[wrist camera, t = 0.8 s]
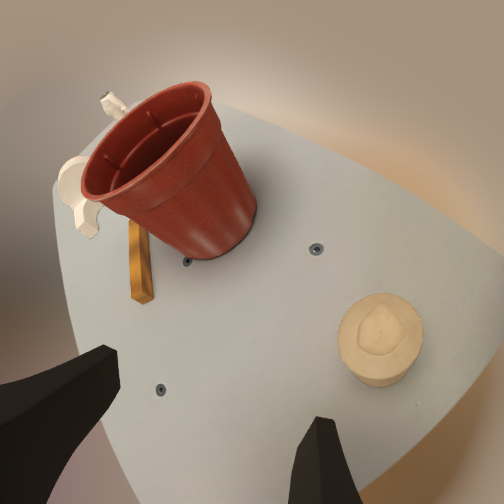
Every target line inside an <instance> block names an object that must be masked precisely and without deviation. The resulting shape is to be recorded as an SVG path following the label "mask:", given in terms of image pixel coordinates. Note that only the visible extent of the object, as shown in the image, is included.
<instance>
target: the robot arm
mask: <svg viewBox="0 0 504 504" xmlns="http://www.w3.org/2000/svg"><path fill="white" fill-rule="evenodd" d="M120 388H121V387H120V378H119V368H118V357H117V351H116V350H114V349H112V348H110V347H108V346H106V345H101V346H99V347H97V348H95V349H93V350H91V351H89V352H86V353H84V354H82V355H80V356H78V357H76V358H74V359H72V360H70V361H67V362H66V363H63V364H61V365H58V366H56V367H54V368H52V369H49V370H46V371H44V372H41V373H39V374H36V375H33V376H31V377H28V378H25V379H21V380H18V381H14V382H10V383H7V384H2V385H0V504H46V503H47V501H48V498H49V496H50V494H51V492H52V490H53V488H54V486H55V484H56V482H57V480H58V478H59V476H60V474H61V473H62V471H63V469H64V467H65V466H66V464H67V462H68V461H69V459H70V457H71V456H72V454H73V452H74V451H75V450H76V448H77V447H78V445H79V444H80V443H81V442H82V441H83V439H84V438H85V437H86V436H87V434H88V433H89V432H90V431H91V430H92V428H93V427H94V426H95V425H96V423H97V422H98V421H99V420H100V418H101V417H102V416H103V415H104V413H105V412H106V411H107V410H108V408H109V407H110V405H111V403H112V402H113V400H114V399H115V397H116V395H117V393H118V392H119V390H120ZM288 504H363V503H362V500H361V498H360V496H359V494H358V491H357V489H356V487H355V484H354V481H353V479H352V476H351V473H350V471H349V468H348V465H347V462H346V459H345V456H344V453H343V450H342V446H341V443H340V440H339V436H338V432H337V429H336V425H335V422H334V420H332V419H327V418H322V417H317V416H316V417H315V419H314V421H313V422H312V424H311V426H310V428H309V429H308V431H307V433H306V434H305V436H304V438H303V439H302V441H301V443H300V444H299V446H298V448H297V452H296V456H295V460H294V465H293V469H292V475H291V483H290V491H289V500H288Z"/></svg>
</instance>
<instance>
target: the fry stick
mask: <svg viewBox="0 0 504 504" xmlns="http://www.w3.org/2000/svg"><path fill="white" fill-rule="evenodd" d="M129 262H130V285H131V298H132V299H134V300H136V301H137V302H139V303H141V304H144V303H146V302H148V301H149V300H151V299H153V290H152V280H151V270H150V258H149V245H148V231H147V230H146V229H144V228H143V227H141V226H140V225H138V224H137V223H135V222H134V221H132V220H129Z"/></svg>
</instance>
